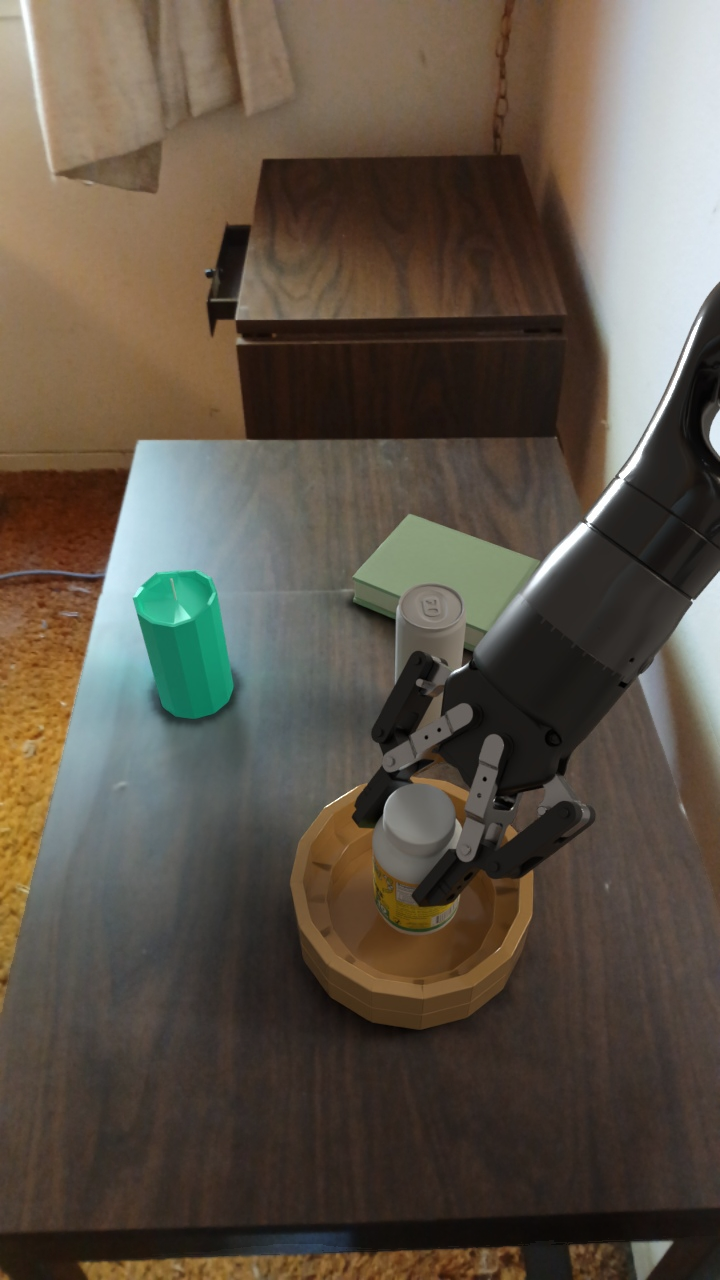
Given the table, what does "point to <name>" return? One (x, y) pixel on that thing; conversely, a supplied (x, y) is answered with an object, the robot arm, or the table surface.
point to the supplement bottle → (412, 856)
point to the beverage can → (430, 631)
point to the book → (443, 572)
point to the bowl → (390, 960)
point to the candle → (185, 642)
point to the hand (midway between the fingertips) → (393, 861)
